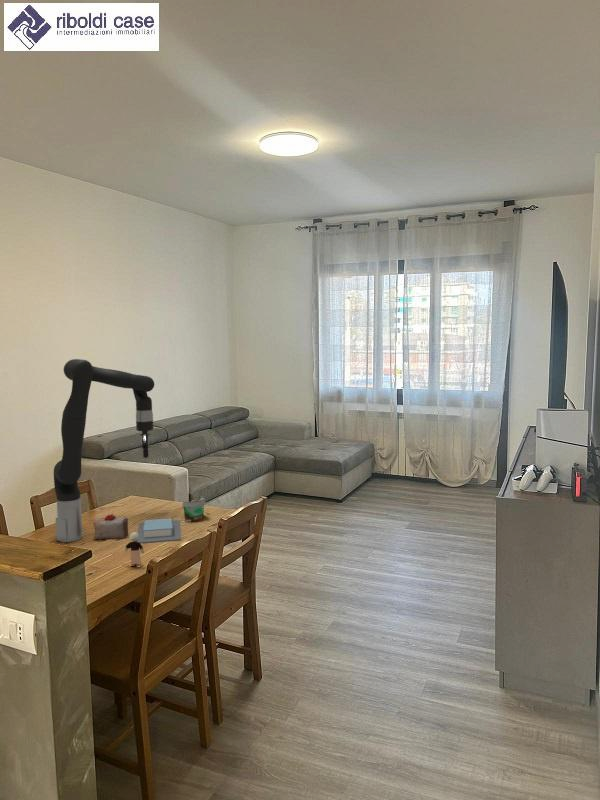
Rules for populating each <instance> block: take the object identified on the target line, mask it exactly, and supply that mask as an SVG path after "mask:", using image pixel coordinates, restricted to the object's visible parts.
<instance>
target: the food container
mask: <svg viewBox="0 0 600 800" xmlns="http://www.w3.org/2000/svg"><path fill="white" fill-rule="evenodd" d="M205 504H206V499H205V497H204V496H203V495H202V496H201V495H200V496H199V498H197V499H191V500H190V501H182V507H183V515H184V521H185V522H187V523H195V522H196V523H197V522H201V521H202V520H204V514H205Z"/></svg>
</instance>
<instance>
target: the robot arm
mask: <svg viewBox="0 0 600 800" xmlns="http://www.w3.org/2000/svg"><path fill="white" fill-rule="evenodd" d="M63 374H64V376H65V377H66V378H67V379H69V380H70V381H72V384H71V392H70V395H69V398H68V399H67V401H66V404H65V407H64V409H63V411H62V418H61V427H60V430H61V431H60V433H61V440H62V455H61V457H62V458H61V460H58V462H56V464H55V465H54V468H53V484H54V493H55V497H56V509H57V510H56V511H57V513H56V514H57V517H55V530H56V531H55V532H56V541H57V540H58V542H60V543H61V542H62V541H63V542H62V543H64V542H65V543H64V544H67V543H72V542H77V541H79V540H81V539H83V521H82V520H83V519H82V504H81V502H82V501H81V491H80V489H79V483H78V481H79V479H81V475H82V450H83V444H84V436H85V429H86V424H87V423H86V422H87V410H88V404H89V403H88V401H89V396H90V391H91V386H92V382H97V383H100V384H105V385H109V386H113V387H117V388H118V387H119V388H122V389H131V390H132V392H133V396H134V400H135V407H136V408H135V425H136V426H135V427H136V428H135V429H136V431H138V432H142V433H141V434H140V440H141V441H140V442H141V448H142V449H141V450H142V454H143V456H142V457H143V459H144V458H145V459H147V458H149V448H150V447H149V446H150V437H151V436H150V435H151V434H150V433H149V431H150V432H152V431H153V430H154V413H153V401H152V398H151V397H150V396H149V395H148V392H151V391H152V390H153V389H154V388H155V381H154V379H153V378H152V377H150V376H149V375H148V376H147V375H141V374H135V373H134V374H133V373H131V372H126V371H123V370H116V369H110V368H103V367H98V366H93V365H92V363H91V362H90V361H88V360H87V359H80V358H79V359H78V358H74V359H70V360H68V361H67V362H66V363H65V364H64V366H63ZM66 542H67V543H66Z"/></svg>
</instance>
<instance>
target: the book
mask: <svg viewBox="0 0 600 800" xmlns="http://www.w3.org/2000/svg"><path fill="white" fill-rule="evenodd" d="M173 521H174V519H173V518H172V517H171V518H157V519H156V518H155V519H145V520H144V522H143V523H144V529H143V531H144V539H145V538H158V537H171V536H173Z"/></svg>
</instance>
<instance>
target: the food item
mask: <svg viewBox="0 0 600 800" xmlns="http://www.w3.org/2000/svg"><path fill="white" fill-rule="evenodd" d="M128 519H129V518H128V517H121V516H120V517H116V515H114V513H111V514H107V515H106V516H105V517H101V518H96V519H95V520H94V521H93V527H94V539H95V540H96V539H104V540H110V539H112V540H113V539H115V540H117V539H119V540H120V539H123V540H124V539H126V538H127V537H128V535H129V526H128V525H129V522H128Z"/></svg>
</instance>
